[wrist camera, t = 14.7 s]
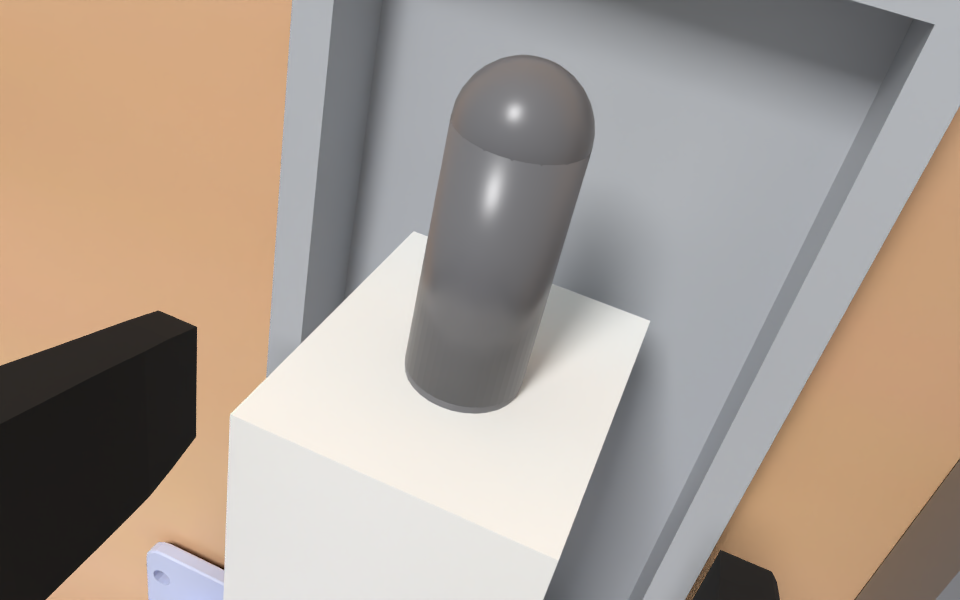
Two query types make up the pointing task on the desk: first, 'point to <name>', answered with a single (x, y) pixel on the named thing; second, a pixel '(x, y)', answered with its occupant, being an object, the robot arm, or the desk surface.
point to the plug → (443, 384)
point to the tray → (638, 211)
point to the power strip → (924, 553)
